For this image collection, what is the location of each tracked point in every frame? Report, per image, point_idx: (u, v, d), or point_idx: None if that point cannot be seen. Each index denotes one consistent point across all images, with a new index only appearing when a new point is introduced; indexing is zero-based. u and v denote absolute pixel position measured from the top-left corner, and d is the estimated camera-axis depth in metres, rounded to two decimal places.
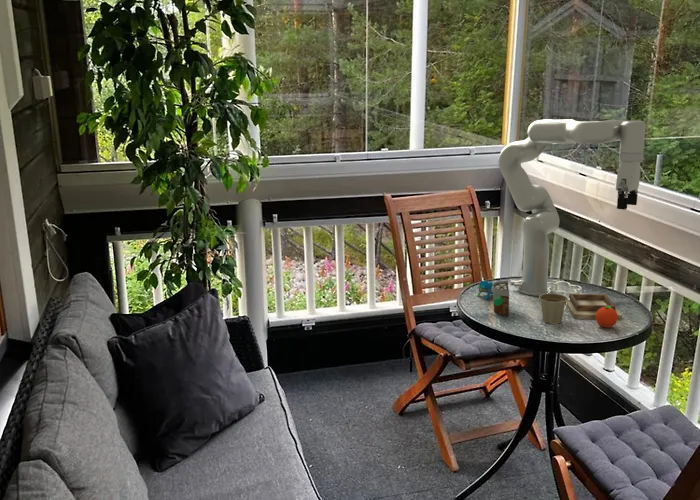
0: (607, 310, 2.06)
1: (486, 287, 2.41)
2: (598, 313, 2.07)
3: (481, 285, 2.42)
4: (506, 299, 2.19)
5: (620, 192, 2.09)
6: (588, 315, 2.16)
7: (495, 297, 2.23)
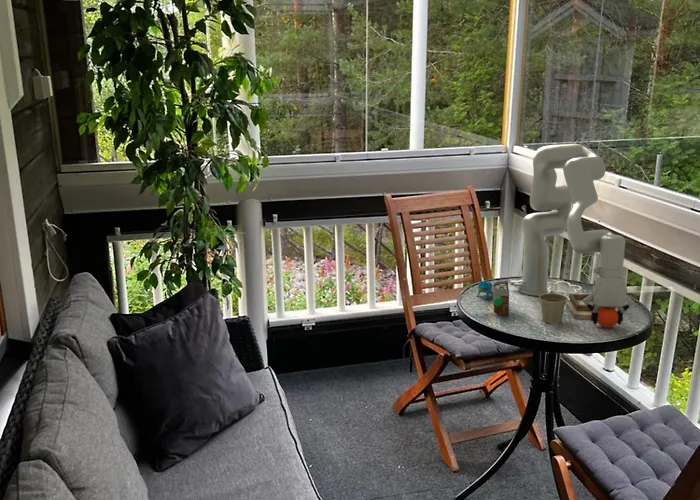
0: (608, 310, 2.06)
1: (485, 287, 2.41)
2: (599, 313, 2.07)
3: (480, 285, 2.42)
4: (506, 299, 2.19)
5: None
6: (588, 315, 2.16)
7: (495, 297, 2.23)
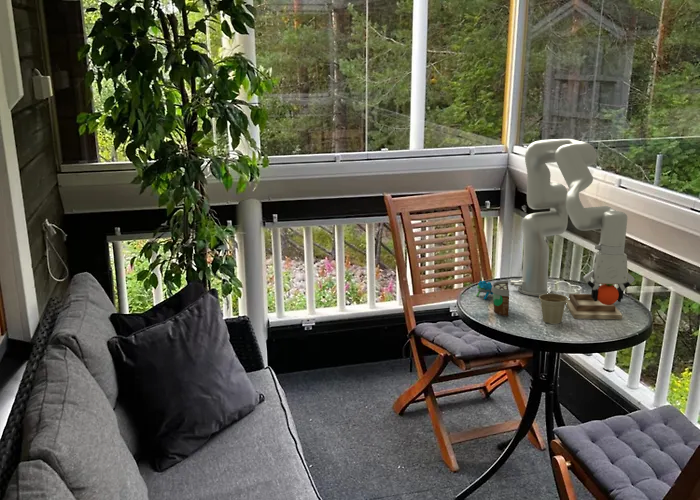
0: (608, 287, 2.04)
1: (485, 287, 2.41)
2: (599, 290, 2.06)
3: (480, 285, 2.42)
4: (506, 299, 2.19)
5: None
6: (588, 315, 2.16)
7: (495, 297, 2.23)
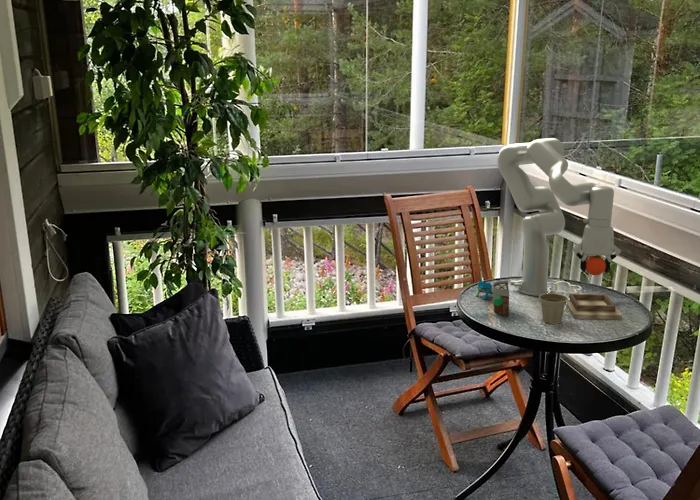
0: (596, 258, 2.17)
1: (485, 287, 2.41)
2: (587, 261, 2.18)
3: (480, 285, 2.42)
4: (506, 299, 2.19)
5: None
6: (588, 315, 2.16)
7: (495, 297, 2.23)
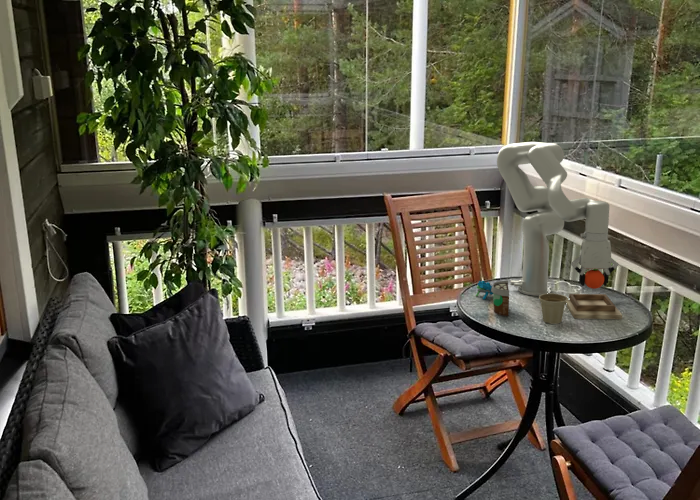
0: (594, 272, 2.20)
1: (484, 287, 2.41)
2: (586, 275, 2.21)
3: (480, 285, 2.42)
4: (506, 299, 2.19)
5: None
6: (588, 315, 2.16)
7: (495, 297, 2.23)
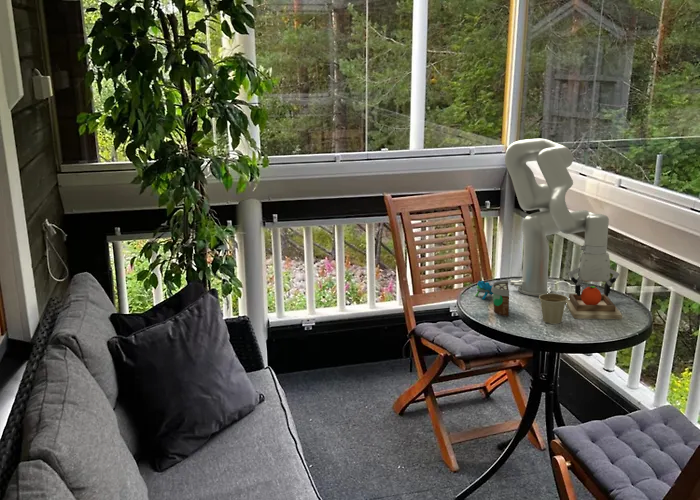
0: (591, 289, 2.22)
1: (484, 287, 2.41)
2: (583, 292, 2.23)
3: (479, 285, 2.42)
4: (506, 299, 2.19)
5: None
6: (588, 315, 2.16)
7: (495, 297, 2.23)
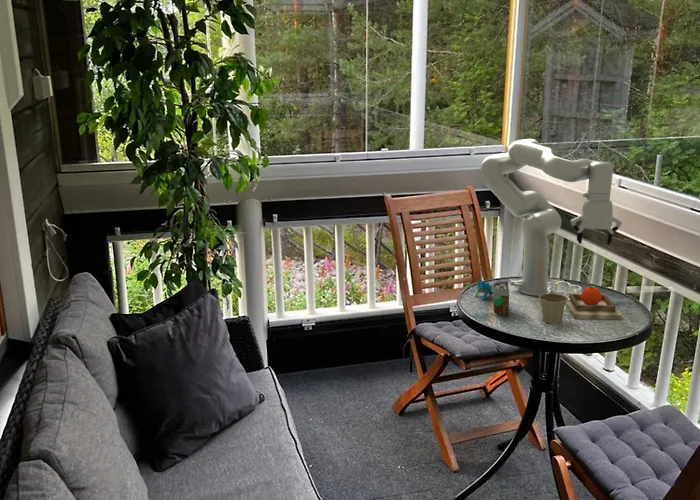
0: (591, 289, 2.22)
1: (484, 287, 2.41)
2: (583, 292, 2.23)
3: (479, 285, 2.42)
4: (506, 299, 2.19)
5: None
6: (588, 315, 2.16)
7: (495, 297, 2.23)
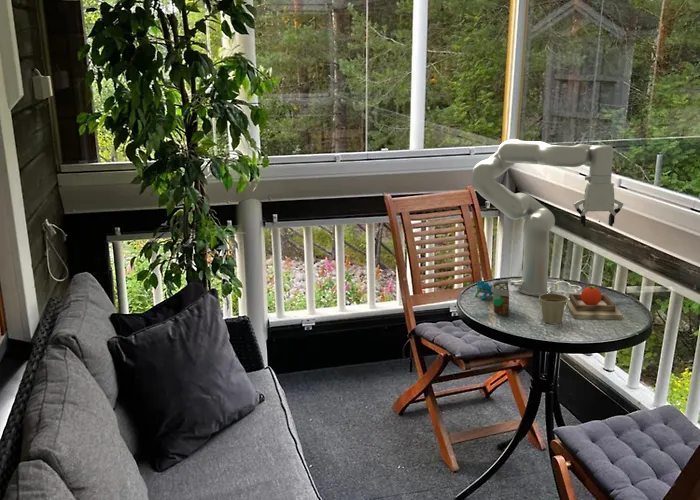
0: (591, 289, 2.22)
1: (483, 287, 2.41)
2: (583, 292, 2.23)
3: (479, 285, 2.42)
4: (506, 299, 2.19)
5: None
6: (588, 315, 2.16)
7: (495, 297, 2.23)
